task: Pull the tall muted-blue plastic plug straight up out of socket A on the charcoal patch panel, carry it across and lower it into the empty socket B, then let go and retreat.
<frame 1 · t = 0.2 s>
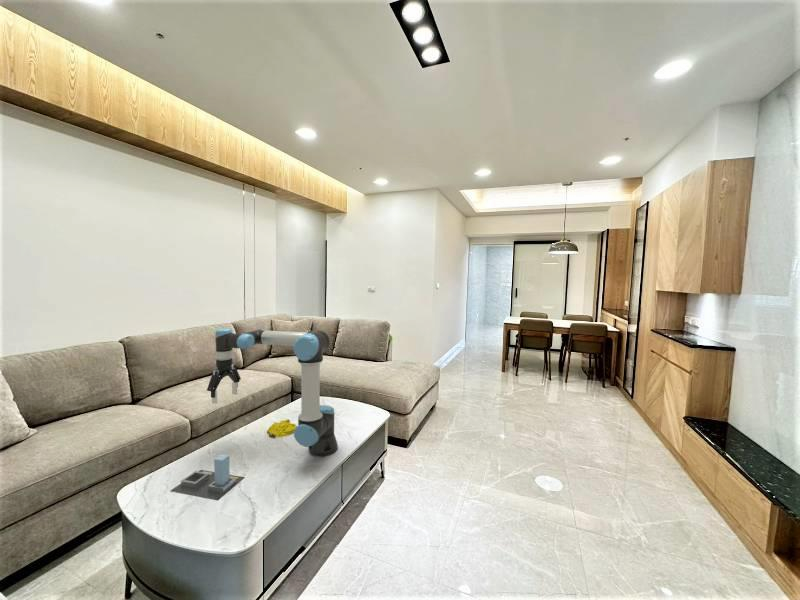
hand: (225, 398, 171), 28 cm above the table, fingers open, 13 cm apart
door knocker: (282, 431, 196), on the table
panel: (208, 486, 143), on the table
plug: (222, 486, 141), point 1 cm above the table, touching panel
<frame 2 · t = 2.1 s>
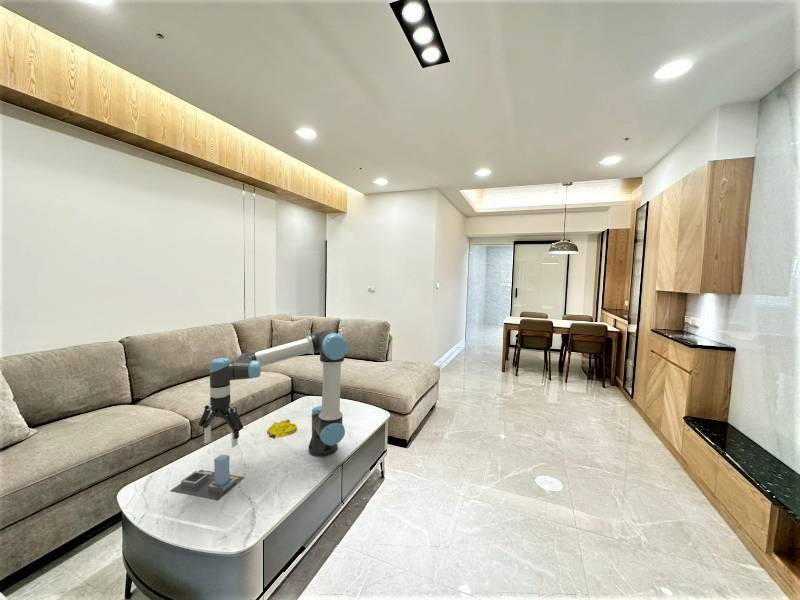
hand: (221, 443, 140), 20 cm above the table, fingers open, 13 cm apart
nothing on the table moved.
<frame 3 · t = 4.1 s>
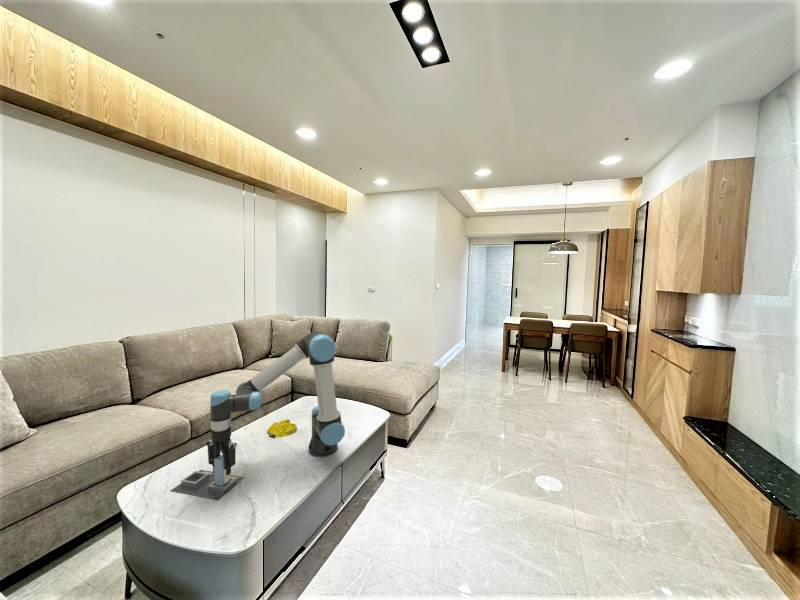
hand: (222, 480, 141), 4 cm above the table, fingers closed on plug, 4 cm apart
plug: (222, 486, 141), point 1 cm above the table, touching gripper, panel
everything else where it was.
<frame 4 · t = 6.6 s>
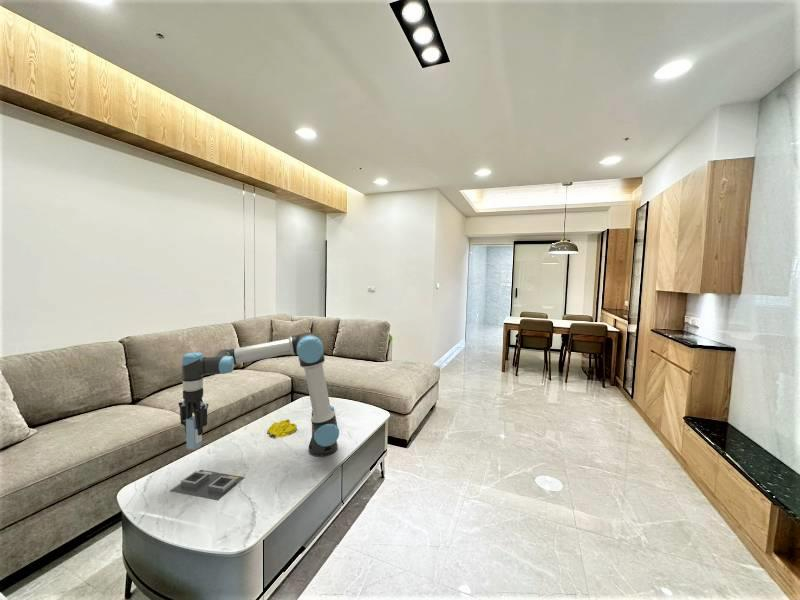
hand: (194, 441, 143), 19 cm above the table, fingers closed on plug, 4 cm apart
plug: (194, 446, 143), point 17 cm above the table, touching gripper
everything else where it was.
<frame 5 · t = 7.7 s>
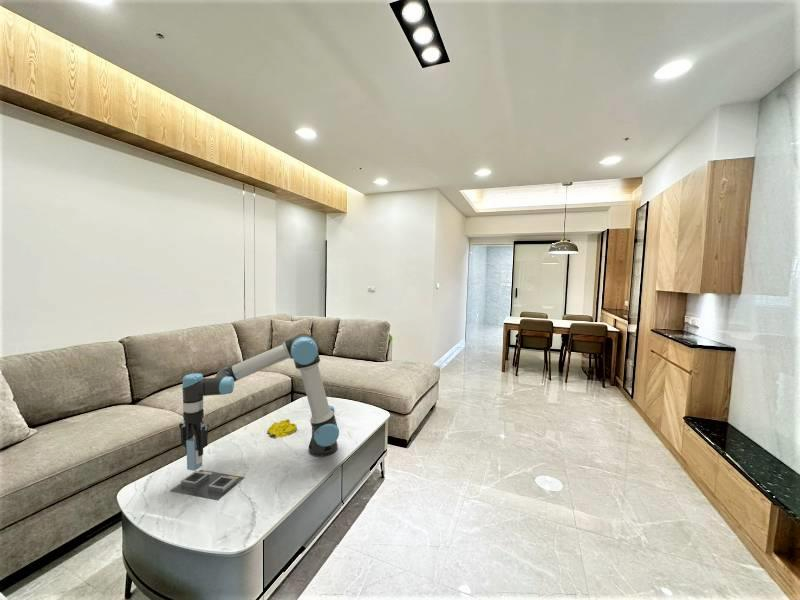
hand: (194, 461, 144), 10 cm above the table, fingers closed on plug, 4 cm apart
plug: (194, 467, 144), point 7 cm above the table, touching gripper
everything else where it was.
when the fingers open (5 cm above the table, at t = 8.9 s): plug drops 1 cm, resting on panel.
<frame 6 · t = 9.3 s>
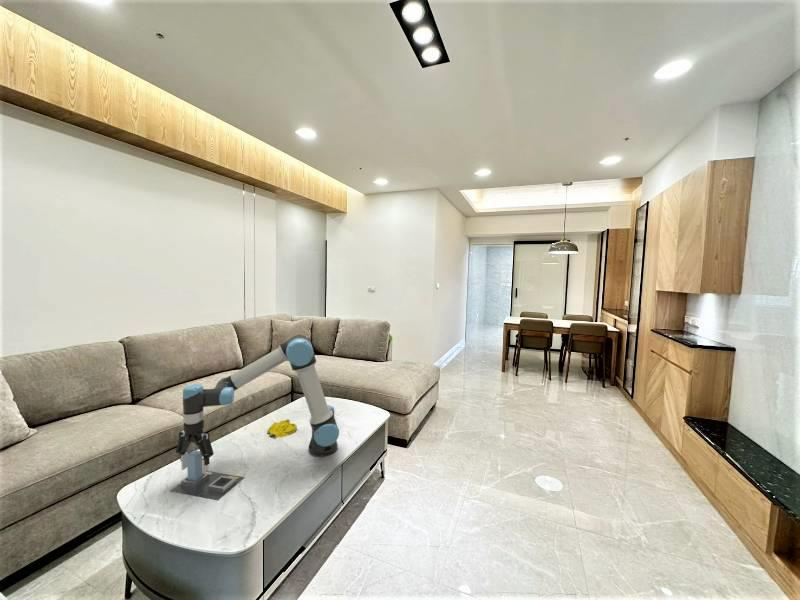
hand: (195, 470, 144), 6 cm above the table, fingers open, 10 cm apart
plug: (195, 481, 144), point 1 cm above the table, touching panel
everything else where it was.
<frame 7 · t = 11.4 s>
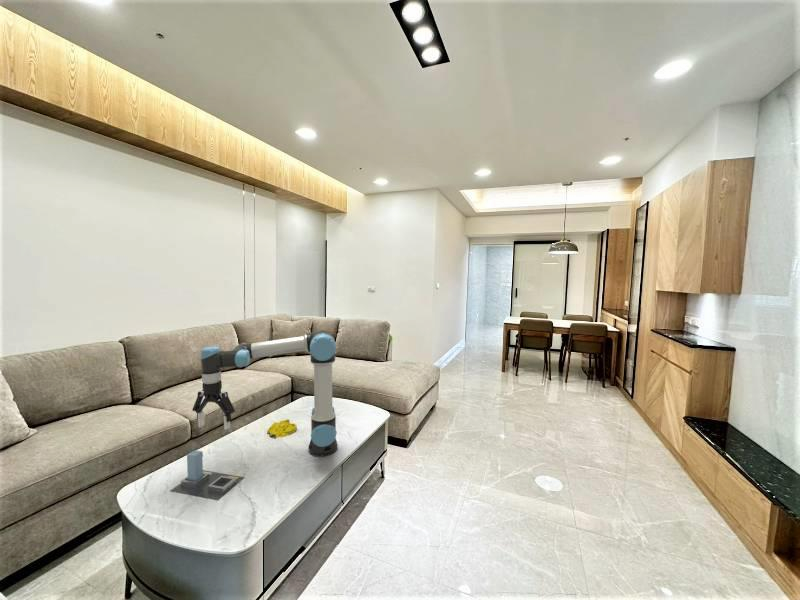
hand: (214, 427, 149), 23 cm above the table, fingers open, 13 cm apart
nothing on the table moved.
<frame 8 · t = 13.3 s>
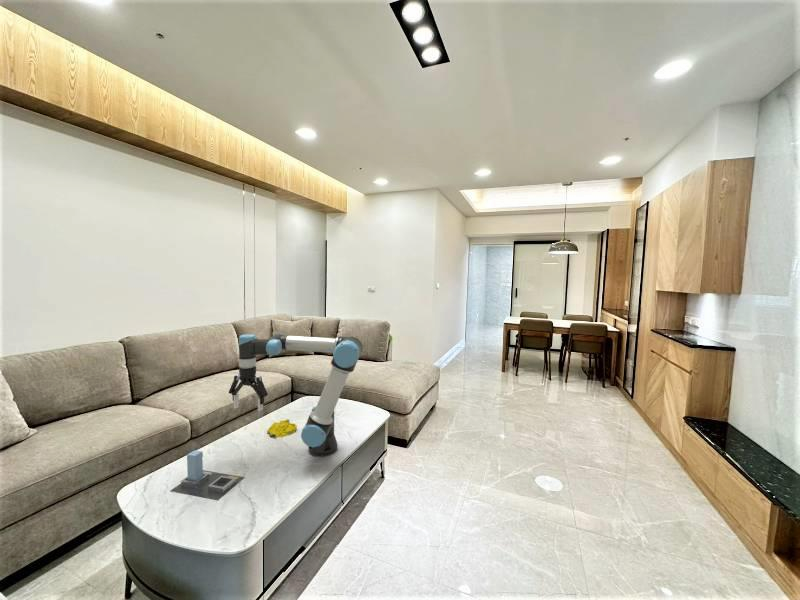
hand: (248, 409, 161), 27 cm above the table, fingers open, 13 cm apart
nothing on the table moved.
at the end: plug 0.1 cm from the target spot on the panel, point 1.0 cm above the panel's base; plug tilted 0°; the gripper is holding nothing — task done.
